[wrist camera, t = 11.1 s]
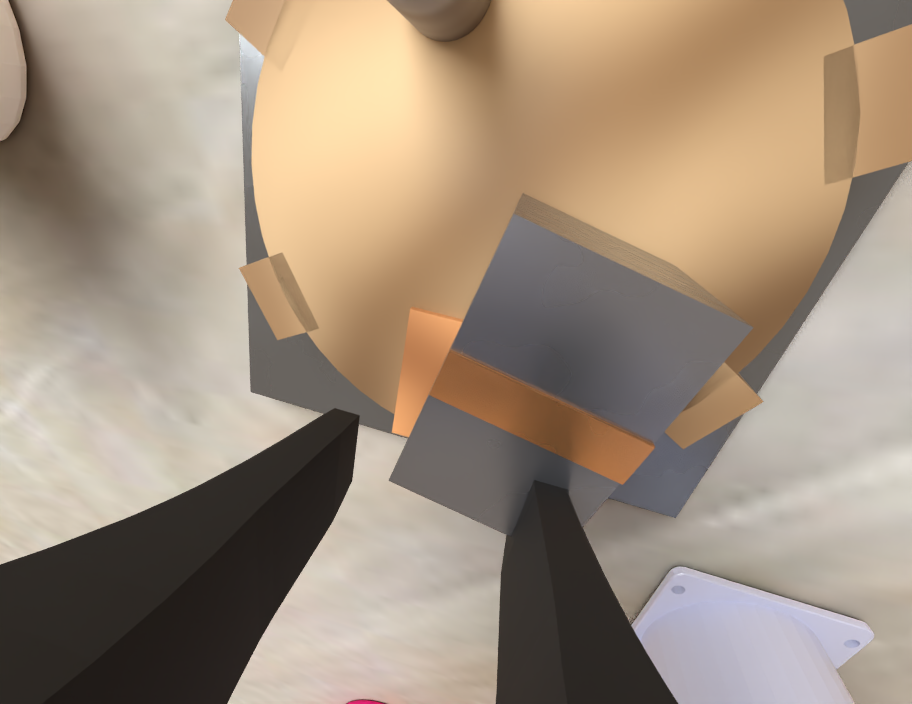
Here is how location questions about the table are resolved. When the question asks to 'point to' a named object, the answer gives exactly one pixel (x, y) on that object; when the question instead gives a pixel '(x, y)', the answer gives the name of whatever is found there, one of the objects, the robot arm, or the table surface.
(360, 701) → the pepper mill
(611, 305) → the link block
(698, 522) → the table surface
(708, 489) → the table surface
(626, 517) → the table surface
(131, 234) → the table surface
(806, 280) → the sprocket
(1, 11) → the mug
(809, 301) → the plate
